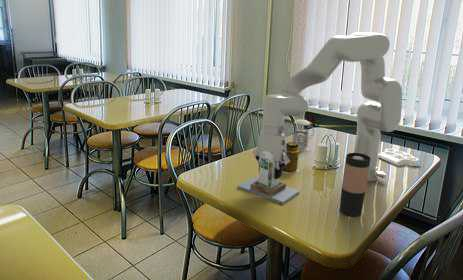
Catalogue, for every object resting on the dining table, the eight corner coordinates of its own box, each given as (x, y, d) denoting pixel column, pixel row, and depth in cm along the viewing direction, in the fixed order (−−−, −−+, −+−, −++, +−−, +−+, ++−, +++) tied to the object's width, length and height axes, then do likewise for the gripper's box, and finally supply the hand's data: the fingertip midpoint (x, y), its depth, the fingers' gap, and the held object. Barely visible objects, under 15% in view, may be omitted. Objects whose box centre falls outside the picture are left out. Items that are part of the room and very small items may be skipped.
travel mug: (336, 205, 128) (343, 152, 122) (358, 206, 128) (366, 153, 122) (341, 216, 121) (349, 160, 115) (365, 217, 121) (374, 161, 115)
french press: (287, 145, 193) (291, 98, 185) (309, 145, 194) (314, 98, 186) (292, 151, 183) (297, 102, 176) (315, 151, 185) (320, 102, 177)
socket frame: (285, 187, 139) (286, 183, 138) (272, 196, 132) (272, 191, 131) (264, 180, 144) (264, 176, 144) (250, 188, 137) (250, 183, 136)
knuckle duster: (372, 156, 181) (393, 153, 187) (402, 169, 166) (424, 165, 172) (373, 150, 180) (394, 147, 186) (403, 162, 165) (425, 159, 171)
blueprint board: (299, 193, 137) (299, 190, 137) (282, 204, 128) (283, 201, 128) (255, 178, 149) (255, 176, 148) (237, 188, 140) (237, 185, 139)
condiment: (301, 171, 159) (303, 144, 155) (286, 174, 154) (288, 147, 151) (289, 165, 164) (292, 140, 161) (275, 168, 160) (277, 142, 156)
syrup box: (257, 185, 138) (259, 149, 134) (268, 181, 142) (270, 146, 137) (269, 190, 134) (271, 153, 130) (279, 186, 138) (282, 150, 133)
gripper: (299, 132, 129) (294, 179, 134) (258, 123, 139) (256, 167, 144) (288, 136, 123) (284, 185, 129) (247, 126, 133) (244, 172, 139)
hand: (269, 175), depth 136 cm, fingers closed on syrup box, 6 cm apart
